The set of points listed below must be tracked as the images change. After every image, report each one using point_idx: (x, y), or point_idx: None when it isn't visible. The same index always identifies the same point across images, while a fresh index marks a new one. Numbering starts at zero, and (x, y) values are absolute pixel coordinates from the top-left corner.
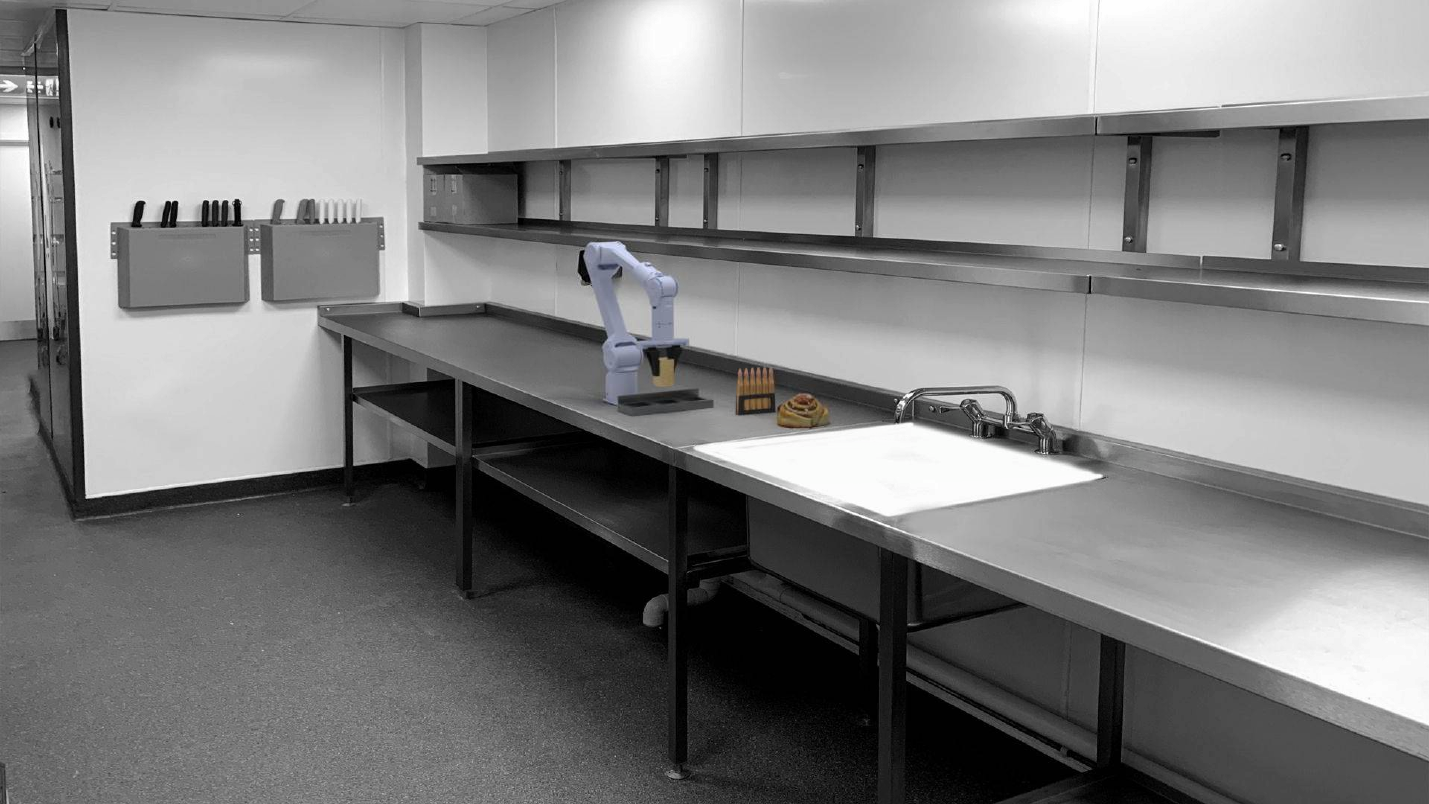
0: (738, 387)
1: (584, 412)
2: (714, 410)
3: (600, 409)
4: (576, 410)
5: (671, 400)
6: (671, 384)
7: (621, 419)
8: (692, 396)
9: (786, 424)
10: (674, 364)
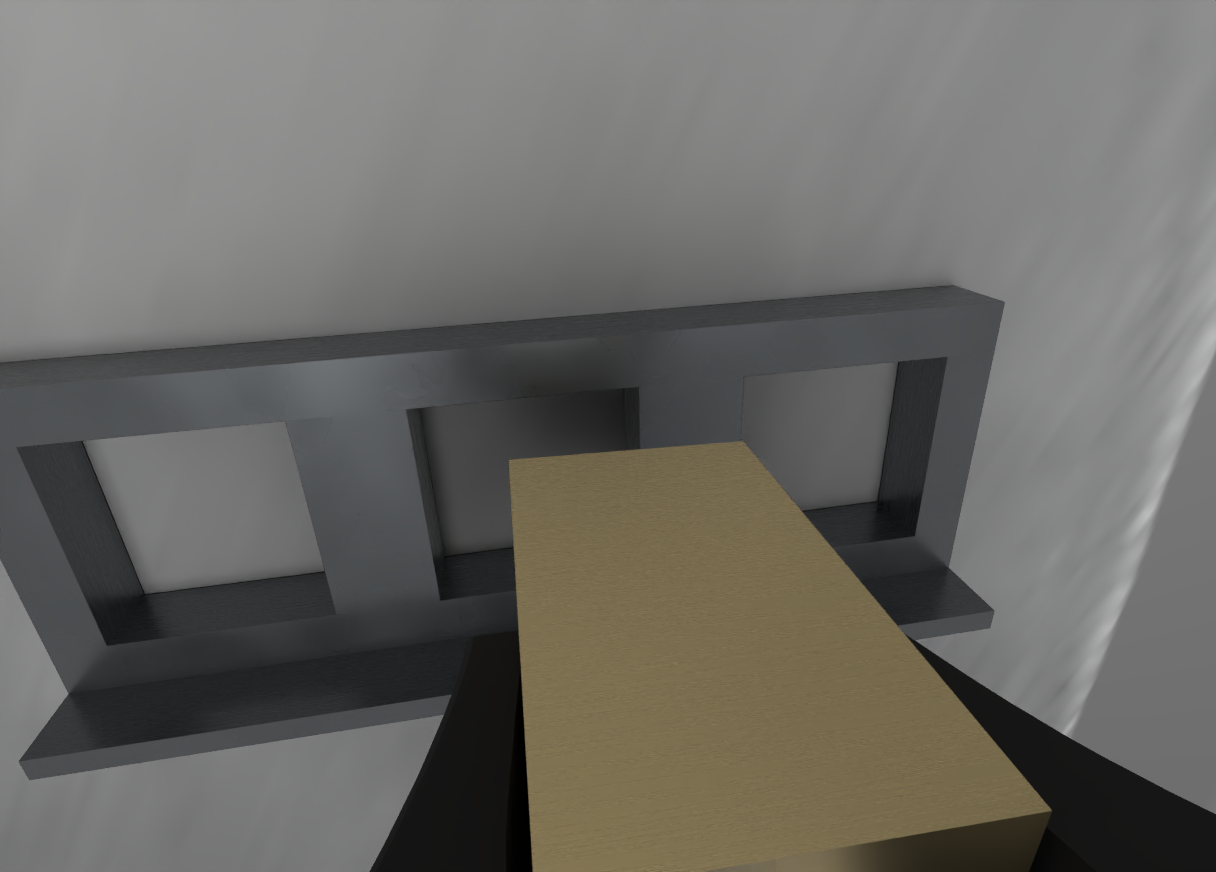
0: None
1: (1103, 583)
2: (12, 169)
3: (958, 642)
4: (1090, 660)
5: (438, 580)
6: (555, 466)
7: (1115, 181)
8: (155, 668)
9: None
10: (469, 794)
